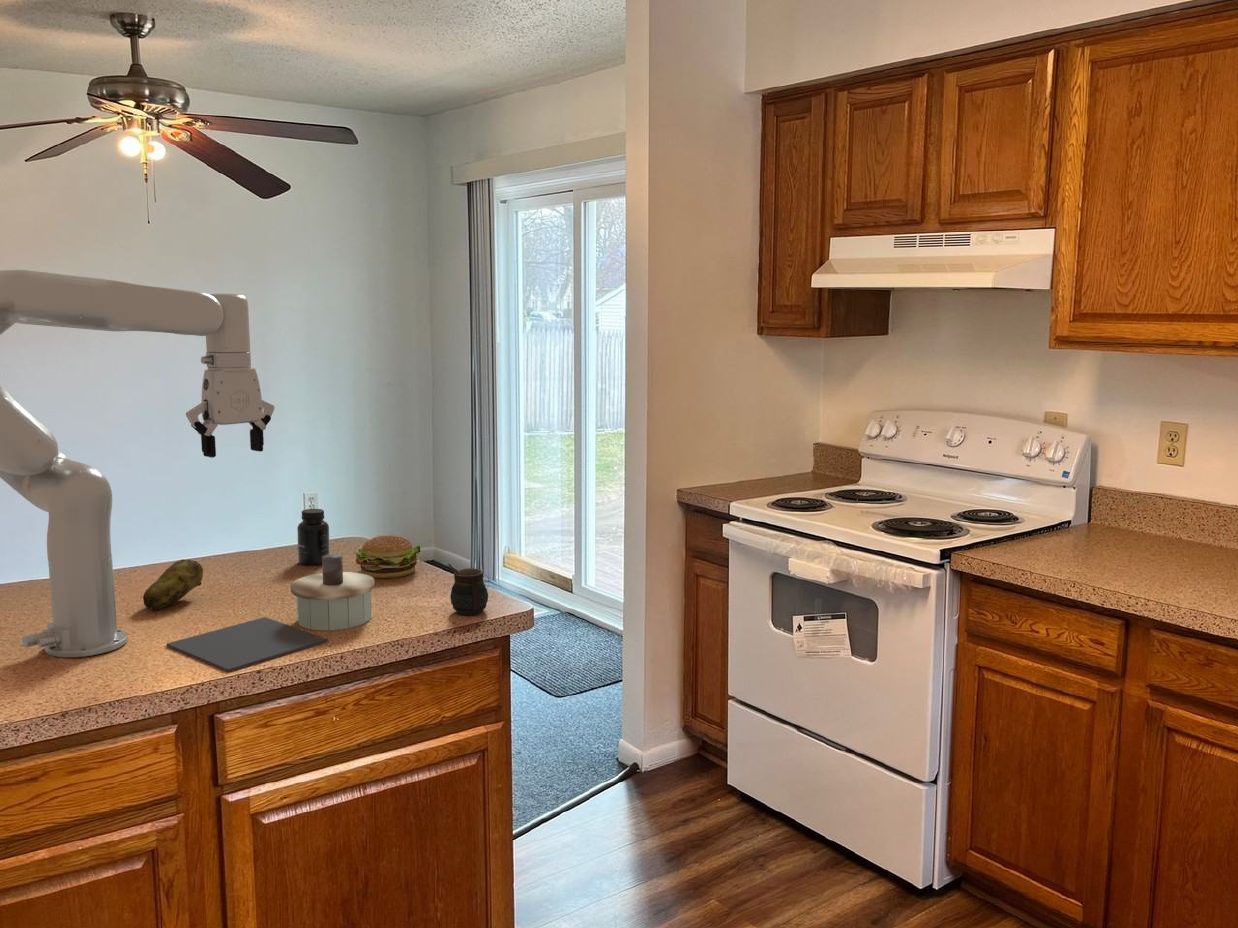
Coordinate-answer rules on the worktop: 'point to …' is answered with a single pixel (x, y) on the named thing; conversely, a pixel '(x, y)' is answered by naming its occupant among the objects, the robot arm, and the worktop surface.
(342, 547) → the worktop surface
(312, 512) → the supplement bottle
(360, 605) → the bowl
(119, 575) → the worktop surface
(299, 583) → the lid
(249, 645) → the mat
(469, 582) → the mate gourd
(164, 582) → the potato
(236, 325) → the robot arm
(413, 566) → the food
